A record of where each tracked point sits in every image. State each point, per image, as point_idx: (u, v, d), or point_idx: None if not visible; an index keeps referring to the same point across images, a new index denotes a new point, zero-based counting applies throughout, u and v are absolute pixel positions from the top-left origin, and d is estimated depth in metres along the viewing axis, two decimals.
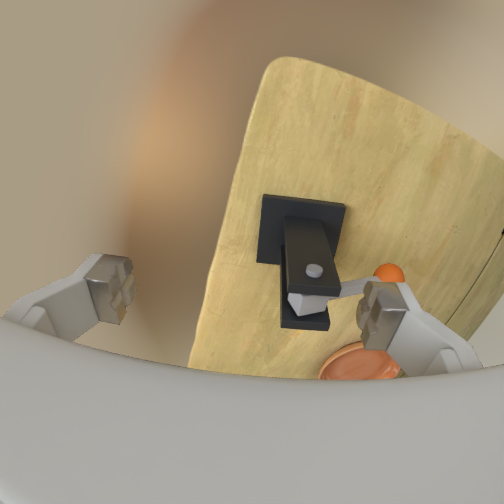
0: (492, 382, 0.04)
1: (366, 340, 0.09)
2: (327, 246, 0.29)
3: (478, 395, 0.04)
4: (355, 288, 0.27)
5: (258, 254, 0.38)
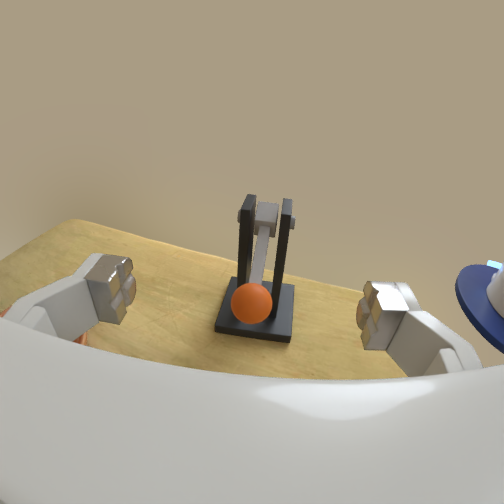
0: (492, 382, 0.04)
1: (366, 340, 0.09)
2: (283, 271, 0.32)
3: (478, 395, 0.04)
4: (263, 253, 0.28)
5: None
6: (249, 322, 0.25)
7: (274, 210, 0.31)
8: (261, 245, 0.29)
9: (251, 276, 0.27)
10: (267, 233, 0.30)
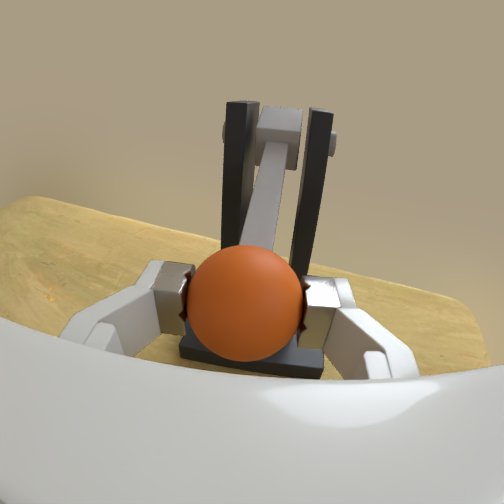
0: (492, 382, 0.04)
1: (298, 337, 0.09)
2: None
3: (478, 395, 0.04)
4: (276, 184, 0.12)
5: None
6: (236, 359, 0.08)
7: (295, 116, 0.14)
8: (270, 171, 0.12)
9: (246, 232, 0.10)
10: (283, 152, 0.13)
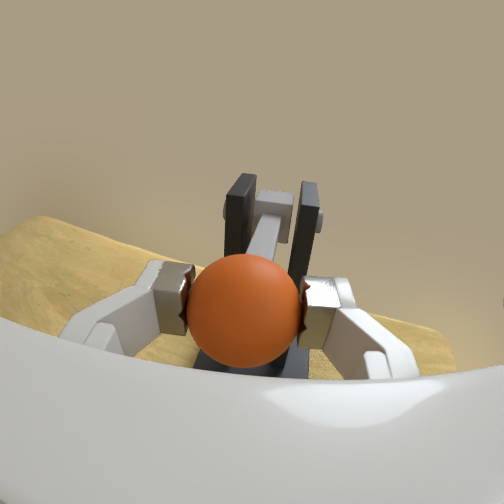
0: (492, 382, 0.04)
1: (299, 337, 0.09)
2: None
3: (478, 395, 0.04)
4: (272, 237, 0.14)
5: None
6: (235, 352, 0.08)
7: (287, 196, 0.18)
8: (267, 229, 0.14)
9: None
10: (277, 220, 0.16)
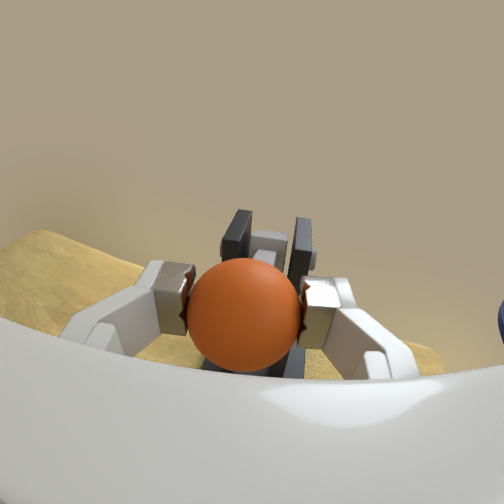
0: (492, 382, 0.04)
1: (298, 337, 0.09)
2: None
3: (478, 395, 0.04)
4: (268, 263, 0.14)
5: None
6: (236, 345, 0.07)
7: (282, 235, 0.19)
8: (263, 258, 0.15)
9: None
10: (272, 253, 0.17)
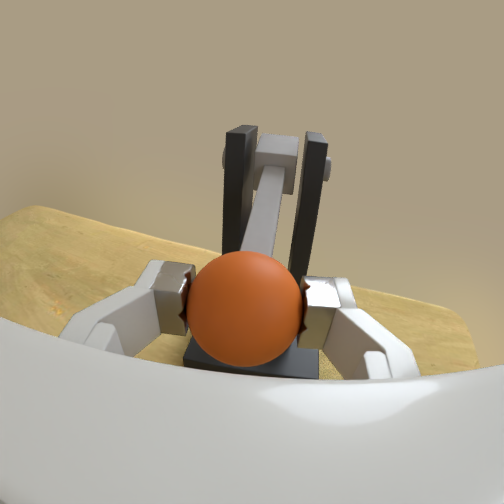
0: (492, 382, 0.04)
1: (299, 337, 0.09)
2: (308, 262, 0.17)
3: (478, 395, 0.04)
4: (274, 202, 0.12)
5: None
6: (236, 362, 0.08)
7: (292, 143, 0.16)
8: (269, 191, 0.13)
9: (245, 243, 0.11)
10: (280, 175, 0.14)
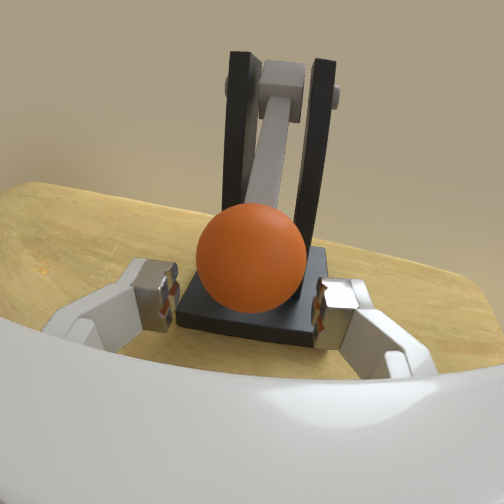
0: (492, 382, 0.04)
1: (316, 338, 0.09)
2: (319, 193, 0.15)
3: (478, 395, 0.04)
4: (280, 140, 0.12)
5: None
6: (244, 311, 0.09)
7: (298, 71, 0.13)
8: (274, 126, 0.12)
9: (251, 189, 0.10)
10: (286, 107, 0.13)
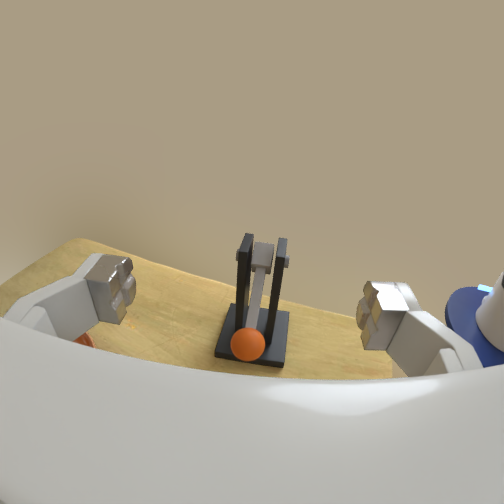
0: (492, 382, 0.04)
1: (366, 340, 0.09)
2: (277, 305, 0.35)
3: (478, 395, 0.04)
4: (259, 297, 0.32)
5: None
6: None
7: (269, 252, 0.33)
8: (257, 289, 0.32)
9: (247, 320, 0.30)
10: (262, 276, 0.33)
